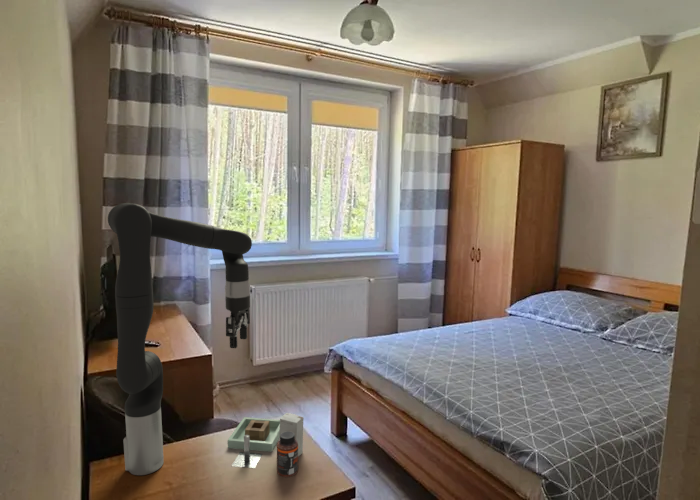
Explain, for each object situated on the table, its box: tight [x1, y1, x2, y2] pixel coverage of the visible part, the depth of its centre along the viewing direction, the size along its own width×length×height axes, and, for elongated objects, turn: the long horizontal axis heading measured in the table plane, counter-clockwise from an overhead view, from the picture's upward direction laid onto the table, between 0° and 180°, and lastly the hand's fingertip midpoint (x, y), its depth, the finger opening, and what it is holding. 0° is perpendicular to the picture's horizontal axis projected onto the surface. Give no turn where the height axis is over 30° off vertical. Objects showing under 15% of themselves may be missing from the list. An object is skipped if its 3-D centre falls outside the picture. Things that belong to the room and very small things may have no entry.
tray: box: [227, 416, 280, 453], centre depth 143 cm, size 14×14×3 cm
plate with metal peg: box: [231, 435, 263, 469], centre depth 131 cm, size 7×7×8 cm
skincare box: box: [278, 412, 304, 458], centre depth 134 cm, size 6×4×12 cm
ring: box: [245, 420, 270, 441], centre depth 143 cm, size 6×7×4 cm
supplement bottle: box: [276, 431, 299, 478], centre depth 126 cm, size 6×6×11 cm
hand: (238, 343), depth 144 cm, fingers open, 8 cm apart
